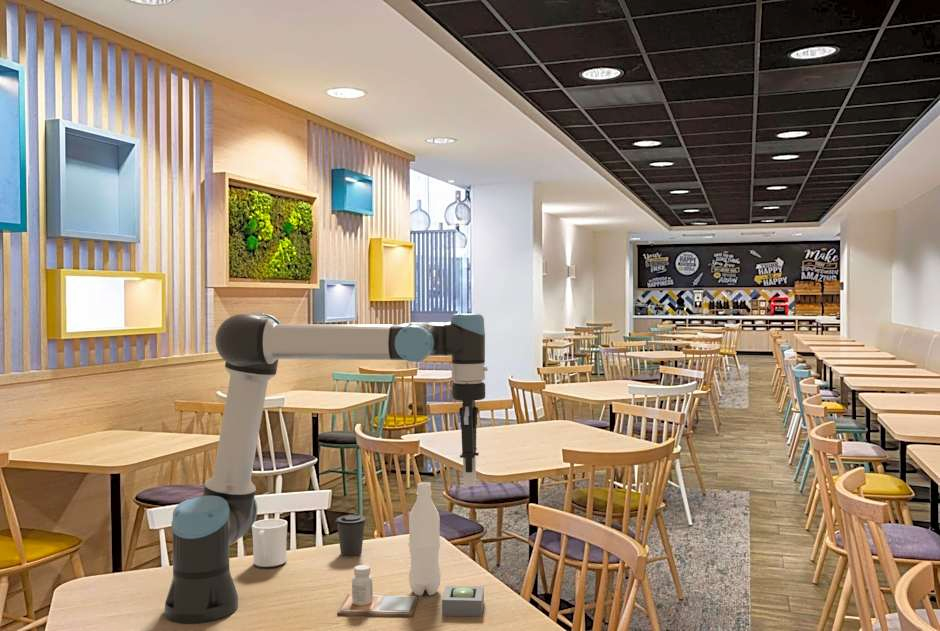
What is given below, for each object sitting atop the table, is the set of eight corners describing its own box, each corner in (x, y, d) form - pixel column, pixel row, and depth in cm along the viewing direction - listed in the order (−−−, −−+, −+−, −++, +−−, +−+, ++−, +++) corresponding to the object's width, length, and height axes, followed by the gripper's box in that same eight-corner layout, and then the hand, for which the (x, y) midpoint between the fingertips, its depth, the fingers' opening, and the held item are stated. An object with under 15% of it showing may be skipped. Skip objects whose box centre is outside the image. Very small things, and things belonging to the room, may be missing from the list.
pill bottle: (364, 597, 182) (364, 562, 182) (376, 602, 179) (376, 567, 179) (348, 602, 179) (347, 567, 179) (360, 607, 176) (360, 572, 176)
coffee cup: (331, 558, 212) (331, 519, 212) (341, 548, 220) (340, 511, 220) (361, 559, 211) (361, 520, 211) (370, 549, 219) (370, 512, 219)
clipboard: (337, 615, 174) (337, 611, 174) (347, 597, 185) (347, 593, 185) (411, 616, 173) (411, 612, 173) (418, 598, 183) (418, 594, 183)
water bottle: (436, 598, 183) (435, 487, 183) (405, 596, 185) (404, 486, 184) (443, 587, 190) (443, 480, 190) (413, 585, 192) (413, 479, 191)
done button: (452, 607, 175) (452, 594, 175) (454, 600, 180) (454, 587, 180) (472, 608, 175) (472, 595, 175) (474, 600, 180) (474, 587, 179)
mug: (260, 557, 213) (259, 518, 213) (293, 558, 212) (292, 519, 212) (242, 571, 202) (242, 530, 202) (277, 573, 201) (276, 531, 201)
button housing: (442, 615, 174) (441, 599, 174) (446, 601, 182) (445, 585, 182) (481, 616, 173) (481, 600, 173) (483, 601, 181) (483, 586, 181)
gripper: (482, 384, 178) (483, 492, 179) (487, 378, 191) (488, 479, 192) (448, 384, 179) (449, 492, 180) (455, 378, 192) (456, 478, 193)
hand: (469, 485), depth 186 cm, fingers closed
